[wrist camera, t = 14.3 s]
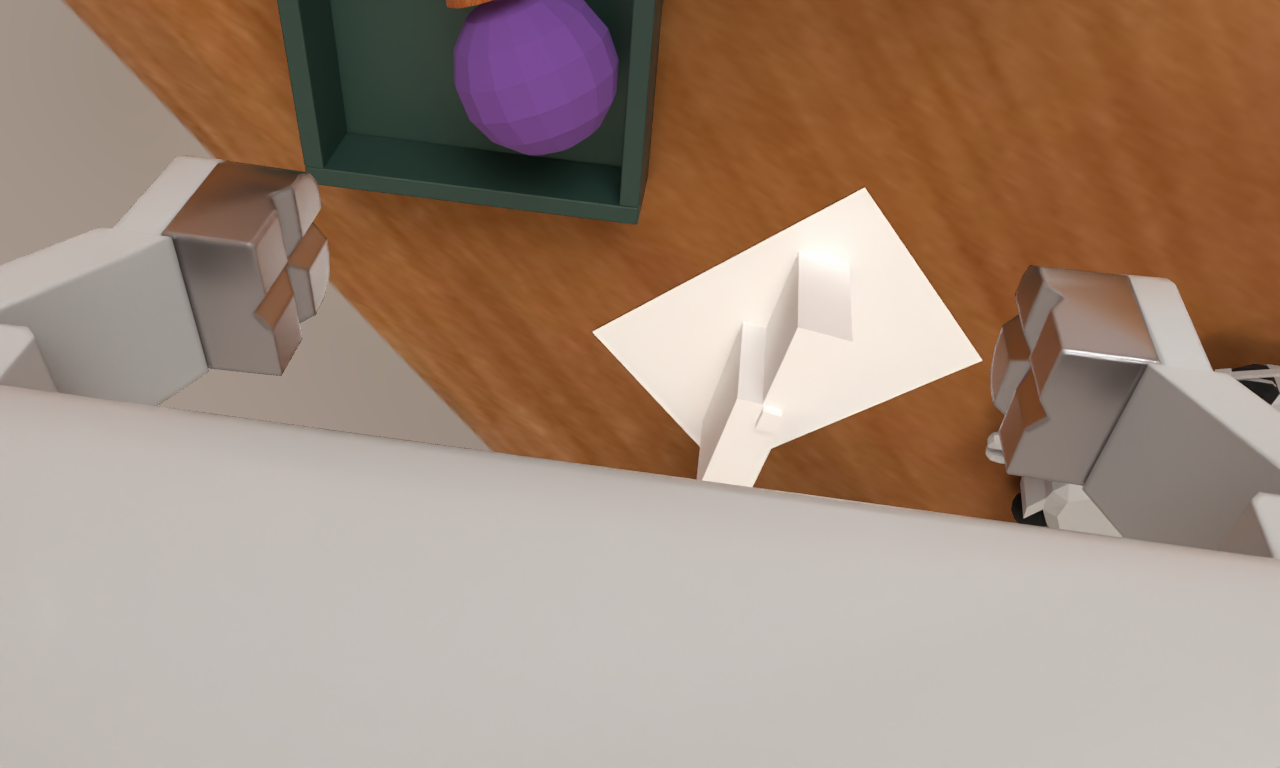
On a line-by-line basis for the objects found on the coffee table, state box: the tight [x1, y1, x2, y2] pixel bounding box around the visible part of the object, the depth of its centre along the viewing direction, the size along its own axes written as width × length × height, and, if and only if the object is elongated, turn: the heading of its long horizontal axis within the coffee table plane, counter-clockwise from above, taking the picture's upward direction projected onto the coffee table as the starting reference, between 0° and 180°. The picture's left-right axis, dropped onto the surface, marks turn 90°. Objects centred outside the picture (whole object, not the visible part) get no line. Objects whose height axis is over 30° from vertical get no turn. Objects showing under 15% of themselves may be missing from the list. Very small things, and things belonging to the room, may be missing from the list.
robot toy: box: [986, 364, 1280, 538], centre depth 50 cm, size 12×4×15 cm
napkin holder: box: [592, 188, 982, 487], centre depth 48 cm, size 15×11×6 cm
